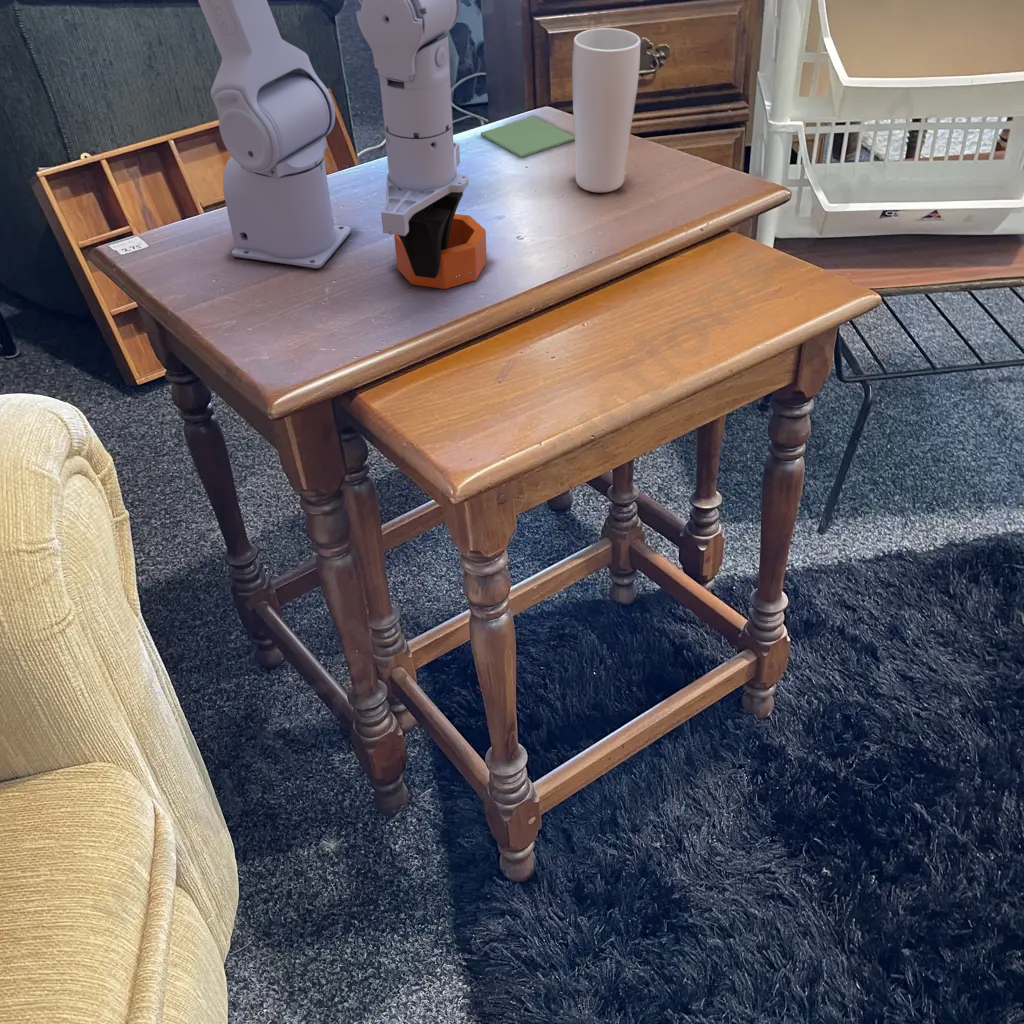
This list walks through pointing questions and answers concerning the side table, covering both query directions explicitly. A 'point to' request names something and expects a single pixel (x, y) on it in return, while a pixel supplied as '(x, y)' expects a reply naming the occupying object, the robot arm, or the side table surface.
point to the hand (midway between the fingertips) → (429, 270)
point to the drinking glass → (603, 104)
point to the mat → (527, 136)
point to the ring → (451, 256)
